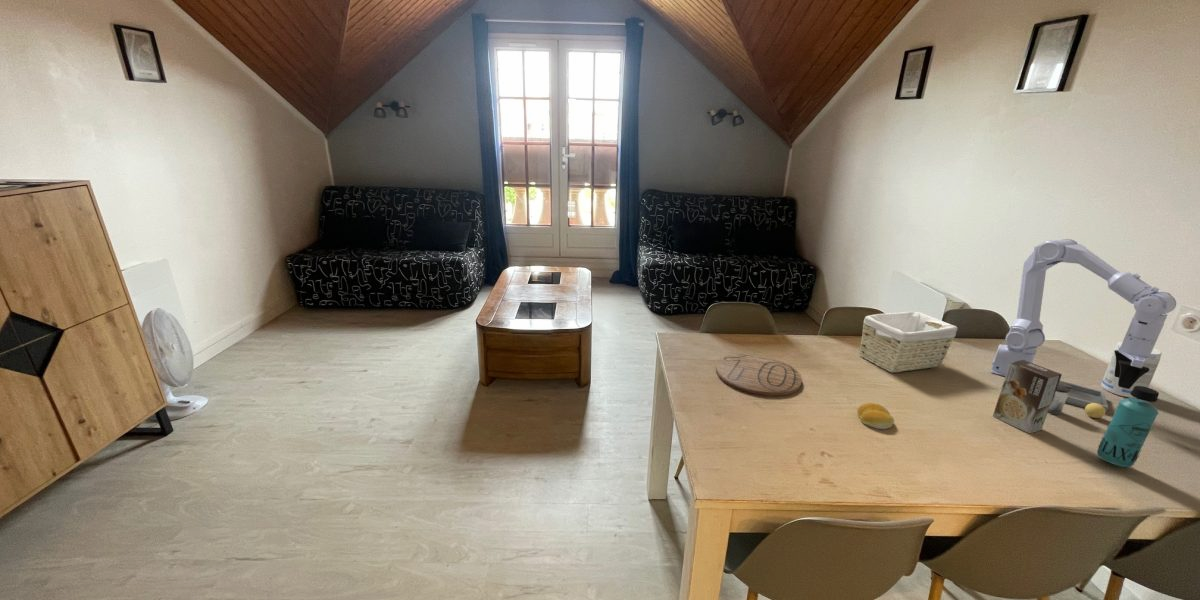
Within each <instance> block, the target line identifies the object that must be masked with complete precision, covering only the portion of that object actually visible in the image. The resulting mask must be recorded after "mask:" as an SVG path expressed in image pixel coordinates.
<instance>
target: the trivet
mask: <svg viewBox="0 0 1200 600" xmlns="http://www.w3.org/2000/svg"><path fill="white" fill-rule="evenodd" d="M715 373H716V375H717V377H718V378H719V379H720V380H721V381H722V382H723V383H724V384H726V385H727V386H729V387H731V388H733V389H735V390H737V391H740V392H742V393H745V394H749V395H754V396H759V397H769V398H770V397H772V398H778V397H786V396H790V395H793V394H795V393H796V392H798V391H799V390H800V388H801V386H802V382H803V378H802V376H801V374H800V372H799V371H798V370H797V369H796V368H794V367H793V366H791V365H790V364H787V363H786V362H784V361H782V360H779V359H776V358H773V357H771V356H765V355H761V354H756V353H735V354H729V355H726V356H723V357H722V358H720V359H719V360H718V361H717V362H716V370H715Z"/></svg>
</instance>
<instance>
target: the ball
mask: <svg viewBox="0 0 1200 600" xmlns="http://www.w3.org/2000/svg"><path fill="white" fill-rule="evenodd" d="M1084 411H1085V414H1086V415H1087V416H1088V417H1091V418H1094V419H1100V418H1102V417H1104V416H1105V415H1106V414H1105V408H1104V407H1103V406H1102V405H1100V404H1097V403H1091V404H1088V405H1087V406H1086V407H1085V408H1084Z"/></svg>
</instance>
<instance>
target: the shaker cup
mask: <svg viewBox="0 0 1200 600" xmlns="http://www.w3.org/2000/svg"><path fill="white" fill-rule="evenodd" d="M1060 381H1061V380H1060ZM1060 381H1059V384H1058V386H1057V389H1056V392H1055V394H1054V397H1053V400H1052V403H1051V405H1050V408H1049V411H1048V414H1050V415H1054V416H1055V415H1056V416H1059V415H1061V414H1062V412H1063V409H1064V407H1065V404H1066V403H1065V402H1066V399H1067V397H1068V394H1069V392H1070V391H1071V388H1072V387H1071V386H1070V385H1068V384H1066V383H1063V382H1060Z"/></svg>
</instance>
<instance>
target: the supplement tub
mask: <svg viewBox="0 0 1200 600" xmlns="http://www.w3.org/2000/svg"><path fill="white" fill-rule="evenodd" d="M1122 342H1123V341H1119V342H1117V344H1116V346H1115V347H1114V349H1113V352H1112V355H1111V357H1110V360H1109V363H1108V365H1107V368H1106V370H1105V374H1104V376H1103V378H1102V381H1101V384H1100V386H1101V387H1102V388H1103V389H1104V390H1105V391H1107V392H1109V393H1112V394H1114V395H1118V396H1120V397H1125V398H1135V397H1133V396H1132V395H1131V394H1130V393H1131V391H1132V390H1133V388H1134V387H1135V386H1144V387H1148V388H1150V385H1151V383H1152V380H1153V378H1154V375H1155V372H1156V371H1157V369H1158V366H1159V363H1160V361H1161V357H1162V354H1163V353H1162V351H1160V350H1159V349H1157V348H1155V347H1154V348H1153V350H1152V352H1151V354H1153V355H1155V356H1156V359H1148V360H1147V361H1145V362H1144V364H1143V367H1147V368H1149V369H1150V370H1149V371H1148V372H1147V373H1145V374H1144V375H1142V376H1141V377H1140V378H1139V379H1138V380H1137V381H1136V382H1135V383H1134V384H1133V385H1132V387H1131V388H1130V389H1127V388H1122V387H1119V386H1118V381H1119V378H1118V377H1115V366H1116V356H1115V352H1114V351H1115V350H1118V349H1119V348H1120V347H1121V345H1122ZM1135 399H1136V398H1135Z"/></svg>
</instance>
